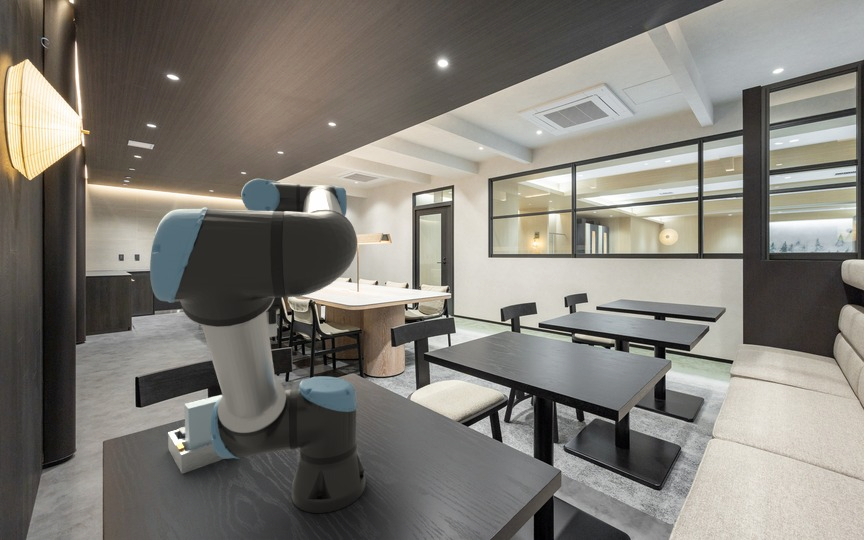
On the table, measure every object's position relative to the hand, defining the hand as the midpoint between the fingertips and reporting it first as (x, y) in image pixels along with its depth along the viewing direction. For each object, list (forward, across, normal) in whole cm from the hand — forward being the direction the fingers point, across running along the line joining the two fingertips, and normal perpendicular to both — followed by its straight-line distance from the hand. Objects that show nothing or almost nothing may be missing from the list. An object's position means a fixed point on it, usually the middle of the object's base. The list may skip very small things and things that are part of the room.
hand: (270, 336), depth 93 cm
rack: (+29, +12, +13) cm, 34 cm away
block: (+27, +8, +13) cm, 31 cm away
